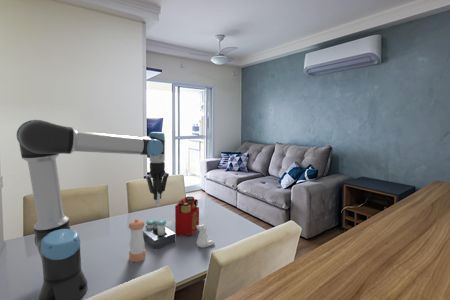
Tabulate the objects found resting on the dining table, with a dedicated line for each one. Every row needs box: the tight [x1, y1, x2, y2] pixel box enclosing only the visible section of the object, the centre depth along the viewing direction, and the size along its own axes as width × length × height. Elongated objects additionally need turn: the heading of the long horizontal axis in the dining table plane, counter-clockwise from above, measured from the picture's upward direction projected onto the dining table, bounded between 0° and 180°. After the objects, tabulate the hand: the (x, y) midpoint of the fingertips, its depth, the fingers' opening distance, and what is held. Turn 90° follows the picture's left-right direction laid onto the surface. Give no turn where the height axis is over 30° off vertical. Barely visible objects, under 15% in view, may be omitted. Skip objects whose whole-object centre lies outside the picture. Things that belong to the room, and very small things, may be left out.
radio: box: [174, 195, 200, 237], centre depth 144 cm, size 16×10×20 cm, turn 168°
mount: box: [143, 224, 176, 251], centre depth 134 cm, size 12×20×5 cm, turn 44°
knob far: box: [145, 219, 156, 229], centre depth 138 cm, size 5×5×7 cm
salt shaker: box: [128, 218, 146, 263], centre depth 114 cm, size 7×7×19 cm
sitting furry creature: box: [196, 223, 216, 249], centre depth 128 cm, size 10×9×12 cm
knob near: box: [156, 219, 167, 237], centre depth 129 cm, size 5×5×7 cm
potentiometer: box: [153, 220, 158, 231], centre depth 133 cm, size 3×3×5 cm
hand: (157, 205), depth 129 cm, fingers closed
